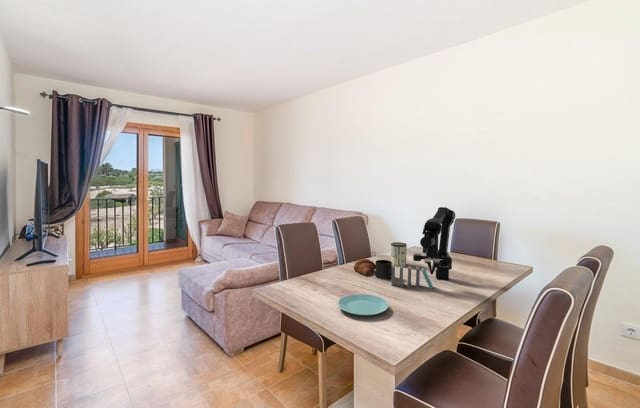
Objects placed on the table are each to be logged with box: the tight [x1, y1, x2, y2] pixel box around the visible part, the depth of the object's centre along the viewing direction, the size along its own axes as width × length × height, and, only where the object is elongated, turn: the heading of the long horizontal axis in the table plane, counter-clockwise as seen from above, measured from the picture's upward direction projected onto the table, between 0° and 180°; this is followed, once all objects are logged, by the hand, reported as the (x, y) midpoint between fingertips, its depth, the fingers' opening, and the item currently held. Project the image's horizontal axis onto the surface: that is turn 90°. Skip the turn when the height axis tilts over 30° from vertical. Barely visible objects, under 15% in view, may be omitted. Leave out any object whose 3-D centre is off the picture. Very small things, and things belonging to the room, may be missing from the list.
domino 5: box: [420, 267, 434, 290], centre depth 162 cm, size 2×5×10 cm, turn 164°
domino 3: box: [407, 265, 412, 288], centre depth 164 cm, size 2×5×10 cm, turn 165°
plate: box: [337, 293, 390, 317], centre depth 135 cm, size 22×22×3 cm
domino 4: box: [415, 266, 421, 289], centre depth 163 cm, size 2×5×10 cm, turn 165°
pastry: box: [353, 258, 376, 277], centre depth 191 cm, size 17×15×8 cm
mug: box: [374, 259, 392, 280], centre depth 178 cm, size 9×12×9 cm
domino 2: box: [399, 266, 404, 288], centre depth 165 cm, size 2×5×10 cm, turn 165°
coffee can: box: [390, 241, 408, 267], centre depth 206 cm, size 10×10×14 cm
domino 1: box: [391, 265, 396, 287], centre depth 166 cm, size 2×5×10 cm, turn 165°
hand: (431, 274), depth 161 cm, fingers closed
